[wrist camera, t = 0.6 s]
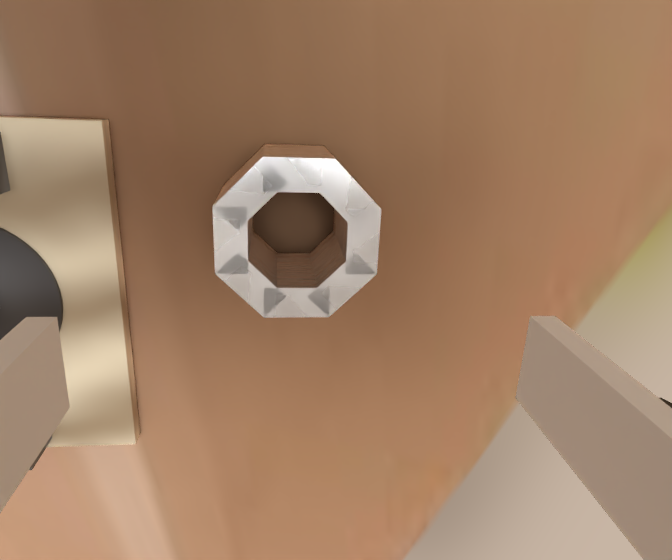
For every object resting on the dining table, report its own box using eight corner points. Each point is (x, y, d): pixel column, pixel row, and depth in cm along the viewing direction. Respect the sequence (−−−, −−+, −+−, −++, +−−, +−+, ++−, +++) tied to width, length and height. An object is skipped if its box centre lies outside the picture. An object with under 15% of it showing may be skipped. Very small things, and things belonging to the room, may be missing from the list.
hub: (222, 142, 29) (210, 155, 24) (364, 146, 30) (385, 160, 25) (226, 277, 32) (216, 317, 26) (356, 277, 33) (373, 316, 27)
